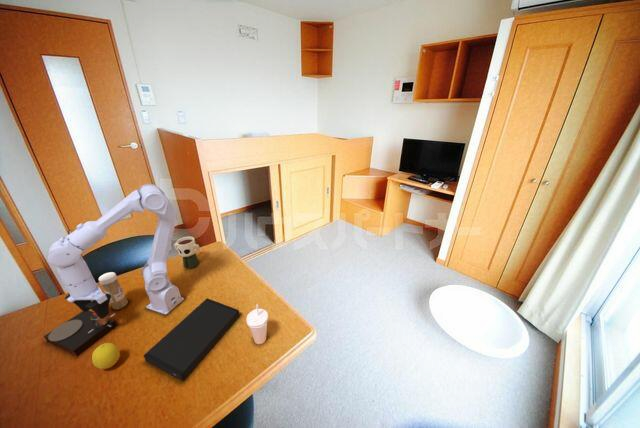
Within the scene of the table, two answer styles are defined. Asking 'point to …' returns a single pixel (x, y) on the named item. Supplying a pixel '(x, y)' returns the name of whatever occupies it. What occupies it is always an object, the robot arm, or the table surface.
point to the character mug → (188, 251)
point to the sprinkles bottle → (113, 290)
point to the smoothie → (258, 324)
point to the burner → (65, 330)
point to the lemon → (105, 355)
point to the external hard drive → (192, 339)
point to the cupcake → (99, 320)
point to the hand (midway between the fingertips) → (96, 312)
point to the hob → (83, 334)
